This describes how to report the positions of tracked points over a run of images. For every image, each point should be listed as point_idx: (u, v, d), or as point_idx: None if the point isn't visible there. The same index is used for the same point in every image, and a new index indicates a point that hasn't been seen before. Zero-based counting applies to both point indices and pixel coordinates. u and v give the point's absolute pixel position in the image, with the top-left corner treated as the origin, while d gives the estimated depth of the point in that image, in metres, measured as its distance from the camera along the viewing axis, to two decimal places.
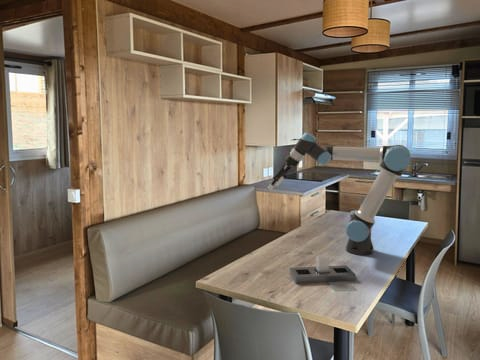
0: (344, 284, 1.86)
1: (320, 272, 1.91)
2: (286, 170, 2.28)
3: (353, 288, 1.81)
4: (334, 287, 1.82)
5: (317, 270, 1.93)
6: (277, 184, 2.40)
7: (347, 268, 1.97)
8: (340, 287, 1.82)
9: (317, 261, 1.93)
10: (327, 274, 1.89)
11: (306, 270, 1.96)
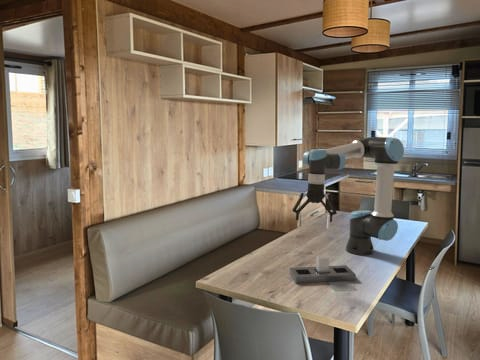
0: (344, 284, 1.86)
1: (320, 272, 1.91)
2: None
3: (353, 288, 1.81)
4: (334, 287, 1.82)
5: (317, 270, 1.93)
6: None
7: (347, 268, 1.97)
8: (340, 287, 1.82)
9: (317, 261, 1.93)
10: (327, 274, 1.89)
11: (306, 270, 1.96)
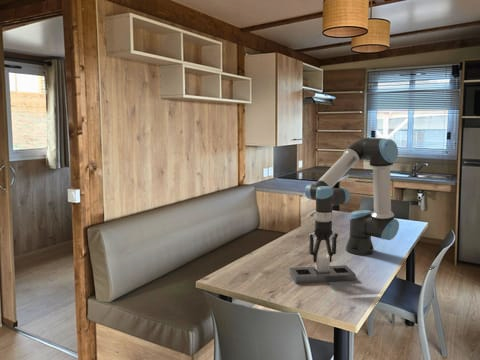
0: (344, 284, 1.86)
1: (320, 272, 1.91)
2: None
3: (353, 288, 1.81)
4: (334, 287, 1.82)
5: (317, 270, 1.93)
6: None
7: (347, 268, 1.97)
8: (340, 287, 1.82)
9: None
10: (327, 274, 1.89)
11: (306, 270, 1.96)
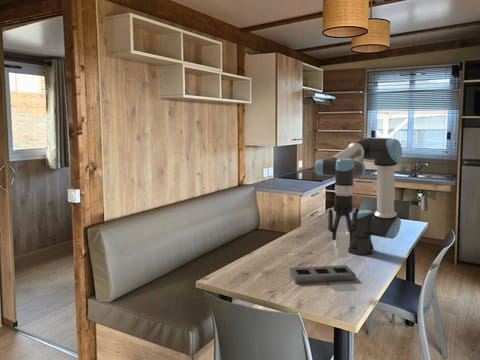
0: (344, 284, 1.86)
1: (339, 250, 1.80)
2: None
3: (353, 288, 1.81)
4: (334, 287, 1.82)
5: (336, 248, 1.81)
6: None
7: (347, 268, 1.97)
8: (340, 287, 1.82)
9: None
10: (327, 274, 1.89)
11: (306, 270, 1.96)
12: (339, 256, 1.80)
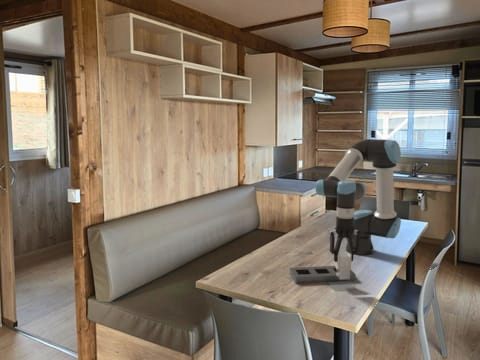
0: (344, 284, 1.86)
1: (341, 272, 1.80)
2: None
3: (353, 288, 1.81)
4: (334, 287, 1.82)
5: (338, 270, 1.82)
6: None
7: None
8: (340, 287, 1.82)
9: None
10: (327, 274, 1.89)
11: (306, 270, 1.96)
12: (341, 278, 1.80)
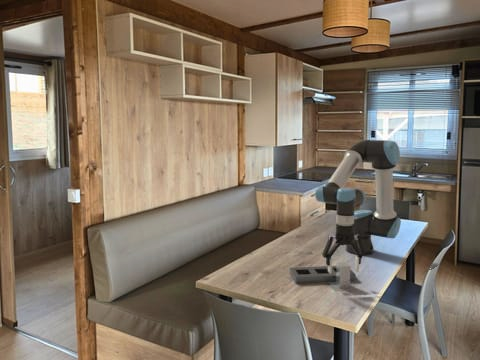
0: None
1: (341, 281, 1.81)
2: None
3: (353, 288, 1.81)
4: (334, 287, 1.82)
5: (338, 279, 1.83)
6: None
7: None
8: None
9: (338, 269, 1.82)
10: (327, 274, 1.89)
11: (306, 270, 1.96)
12: (341, 287, 1.81)
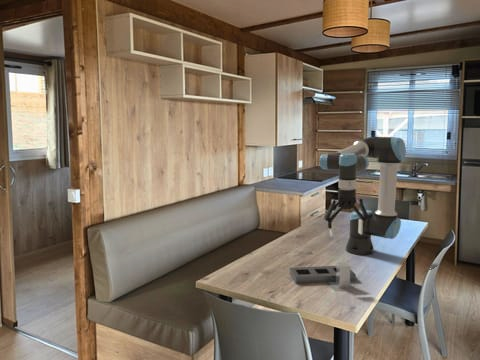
0: None
1: (341, 281, 1.81)
2: None
3: (353, 288, 1.81)
4: (334, 287, 1.82)
5: (338, 279, 1.83)
6: None
7: None
8: None
9: (338, 269, 1.82)
10: (327, 274, 1.89)
11: (306, 270, 1.96)
12: (341, 287, 1.81)
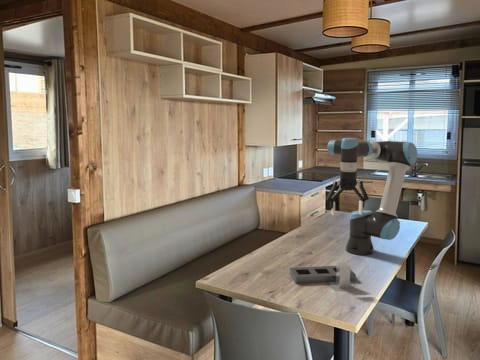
0: None
1: (341, 281, 1.81)
2: None
3: (353, 288, 1.81)
4: (334, 287, 1.82)
5: (338, 279, 1.83)
6: None
7: None
8: None
9: (338, 269, 1.82)
10: (327, 274, 1.89)
11: (306, 270, 1.96)
12: (341, 287, 1.81)
